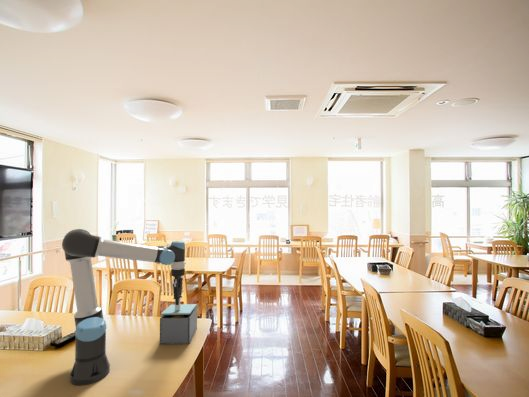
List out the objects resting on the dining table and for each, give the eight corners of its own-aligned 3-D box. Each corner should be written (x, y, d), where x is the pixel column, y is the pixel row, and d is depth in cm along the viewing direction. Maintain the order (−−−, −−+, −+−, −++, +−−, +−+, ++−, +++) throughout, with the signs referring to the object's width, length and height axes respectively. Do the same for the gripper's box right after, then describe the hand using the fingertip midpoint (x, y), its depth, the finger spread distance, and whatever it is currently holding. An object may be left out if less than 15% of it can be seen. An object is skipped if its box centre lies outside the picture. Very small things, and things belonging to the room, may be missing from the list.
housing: (189, 343, 154) (189, 318, 154) (159, 344, 153) (159, 318, 154) (196, 328, 174) (197, 305, 174) (170, 328, 173) (171, 305, 174)
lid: (189, 314, 155) (189, 313, 155) (160, 314, 155) (160, 313, 155) (196, 305, 174) (196, 304, 174) (171, 305, 174) (171, 304, 174)
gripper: (181, 270, 155) (181, 314, 154) (187, 265, 168) (187, 305, 167) (167, 271, 155) (167, 314, 154) (174, 266, 168) (174, 306, 167)
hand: (177, 309), depth 160 cm, fingers closed
